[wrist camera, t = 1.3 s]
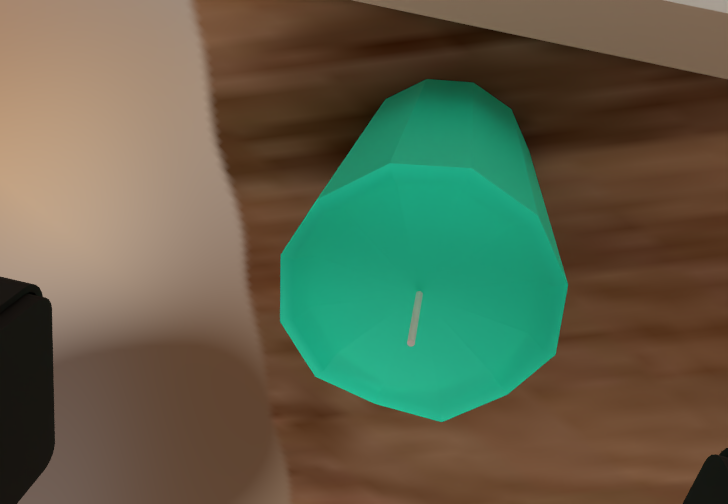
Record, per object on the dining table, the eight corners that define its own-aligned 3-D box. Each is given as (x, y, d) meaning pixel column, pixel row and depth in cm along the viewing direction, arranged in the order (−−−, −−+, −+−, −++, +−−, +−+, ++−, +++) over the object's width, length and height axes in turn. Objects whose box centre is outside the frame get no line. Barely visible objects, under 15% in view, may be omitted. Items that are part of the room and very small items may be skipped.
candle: (323, 154, 23) (191, 315, 13) (454, 38, 21) (431, 112, 10) (430, 273, 25) (395, 515, 14) (565, 176, 22) (650, 372, 12)
